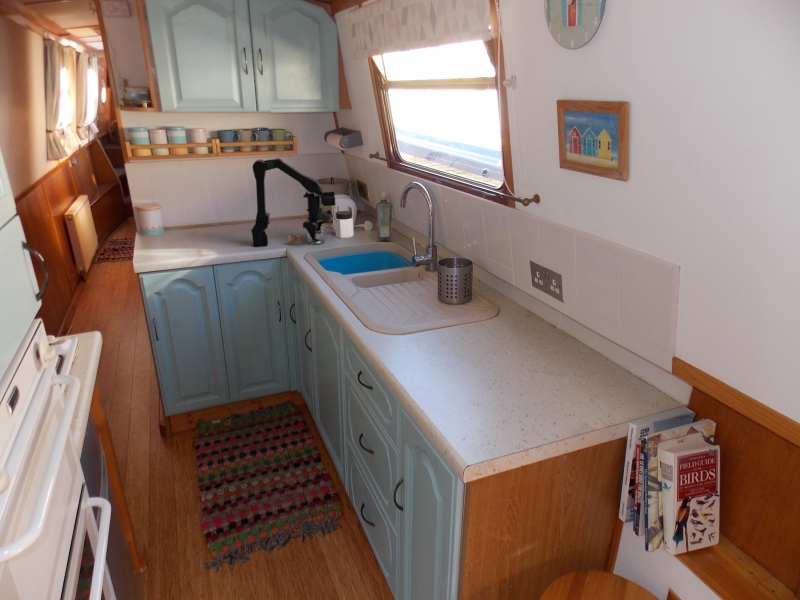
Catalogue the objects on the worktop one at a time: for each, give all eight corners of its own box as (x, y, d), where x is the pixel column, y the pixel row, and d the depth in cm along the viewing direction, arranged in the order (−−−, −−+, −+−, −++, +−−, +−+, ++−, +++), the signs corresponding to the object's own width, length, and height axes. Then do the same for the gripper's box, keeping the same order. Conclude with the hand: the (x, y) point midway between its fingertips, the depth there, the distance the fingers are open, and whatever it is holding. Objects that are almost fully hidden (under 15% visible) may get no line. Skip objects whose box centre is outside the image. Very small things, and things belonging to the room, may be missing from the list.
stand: (288, 245, 270) (287, 233, 268) (288, 243, 272) (287, 232, 270) (300, 244, 272) (299, 233, 270) (300, 243, 274) (299, 231, 272)
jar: (356, 236, 285) (355, 212, 280) (343, 239, 280) (342, 215, 275) (346, 233, 291) (345, 210, 287) (333, 235, 286) (331, 212, 282)
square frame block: (307, 238, 271) (306, 233, 270) (311, 234, 277) (311, 230, 276) (320, 238, 270) (320, 233, 269) (324, 235, 276) (324, 230, 275)
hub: (309, 245, 270) (308, 235, 268) (307, 241, 277) (306, 231, 275) (325, 244, 272) (325, 234, 270) (323, 239, 279) (322, 230, 277)
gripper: (324, 211, 258) (326, 244, 264) (335, 202, 275) (337, 233, 281) (301, 210, 260) (303, 243, 265) (313, 202, 277) (315, 233, 283)
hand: (315, 238), depth 274 cm, fingers closed on square frame block, 6 cm apart
